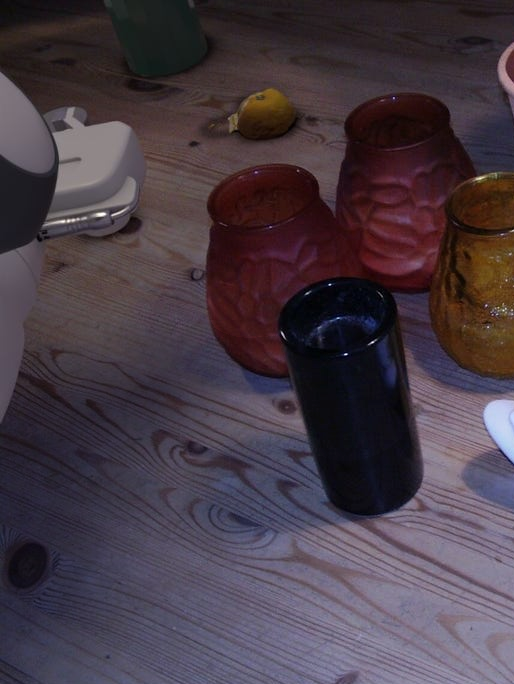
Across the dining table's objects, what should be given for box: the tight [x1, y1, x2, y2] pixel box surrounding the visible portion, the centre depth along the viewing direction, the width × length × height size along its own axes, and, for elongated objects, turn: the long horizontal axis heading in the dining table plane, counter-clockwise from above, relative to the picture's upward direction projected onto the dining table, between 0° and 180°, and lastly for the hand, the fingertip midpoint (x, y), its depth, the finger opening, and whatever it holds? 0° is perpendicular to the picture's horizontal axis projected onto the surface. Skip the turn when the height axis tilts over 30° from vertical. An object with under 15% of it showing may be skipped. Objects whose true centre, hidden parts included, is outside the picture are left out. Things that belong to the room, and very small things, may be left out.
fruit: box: [207, 87, 297, 141], centre depth 99 cm, size 8×8×4 cm
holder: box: [102, 0, 209, 78], centre depth 108 cm, size 9×9×10 cm
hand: (2, 130), depth 70 cm, fingers open, 8 cm apart
